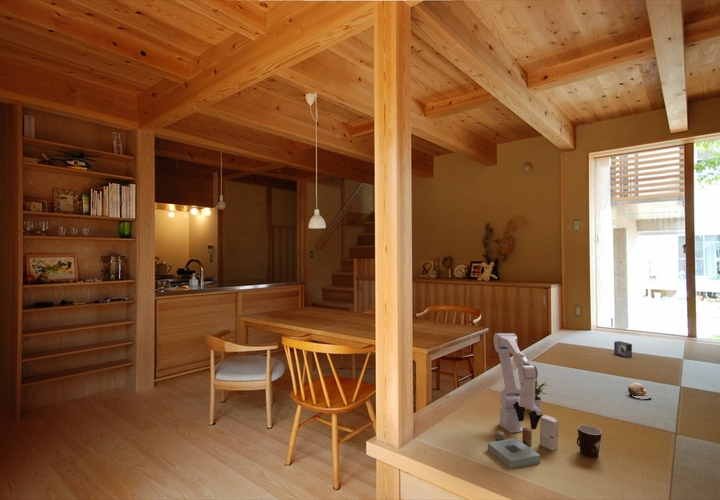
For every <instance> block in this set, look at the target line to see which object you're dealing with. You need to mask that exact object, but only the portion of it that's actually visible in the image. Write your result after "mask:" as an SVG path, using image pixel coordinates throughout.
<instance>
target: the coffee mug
mask: <svg viewBox="0 0 720 500" xmlns="http://www.w3.org/2000/svg"><path fill="white" fill-rule="evenodd" d="M576 430H577V435H578V436H577V438H576V445H577V446H578V447H579V452H580V454H581V455H582V456H584V457H585V458H586V457H587V458H590V459H597V458H599V453H600V448H601V447H600V446H601V442H602V440H601V439H602V434H603V433H602V430H601V429H600V428H598V427H596V426H592V425H589V424H579V425H578V426H577V429H576Z"/></svg>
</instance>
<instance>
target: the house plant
mask: <svg viewBox="0 0 720 500" xmlns="http://www.w3.org/2000/svg"><path fill="white" fill-rule="evenodd" d="M547 383H548V382H547V381H546V382H542V383H541V384H538V378H537V379H535V405H536V406H537V407H538V408H539V409H541V408H540V407H541V404H542V403H541V402H542V398H541V396H542V395H547V394H548V393H547V392H543V390H544V389H546V388H545V386H550V385H549V384H547ZM540 395H541V396H540ZM529 411H530V412H532V411H531V410H529Z"/></svg>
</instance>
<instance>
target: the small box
mask: <svg viewBox="0 0 720 500" xmlns="http://www.w3.org/2000/svg"><path fill="white" fill-rule="evenodd" d="M613 343H614V344H613V345H614V346H613V351H614V353H613V354H614V355H616V356H619V357H623V358H625V357H626V358H627V357H630V358H633V344H632V343H629V342H625V341H621V340H618V341H614V342H613ZM627 359H628V358H627Z"/></svg>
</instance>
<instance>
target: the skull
mask: <svg viewBox="0 0 720 500" xmlns="http://www.w3.org/2000/svg"><path fill="white" fill-rule="evenodd" d="M627 392H629V393H630V395H633V396H644V397H645V396H648V395H649V394H648V391H647V389H646V388H645V387H644V386H643V384H642V383H639V382H632V383H631V384H629V385H628V387H627ZM630 395H629V396H630Z"/></svg>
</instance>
